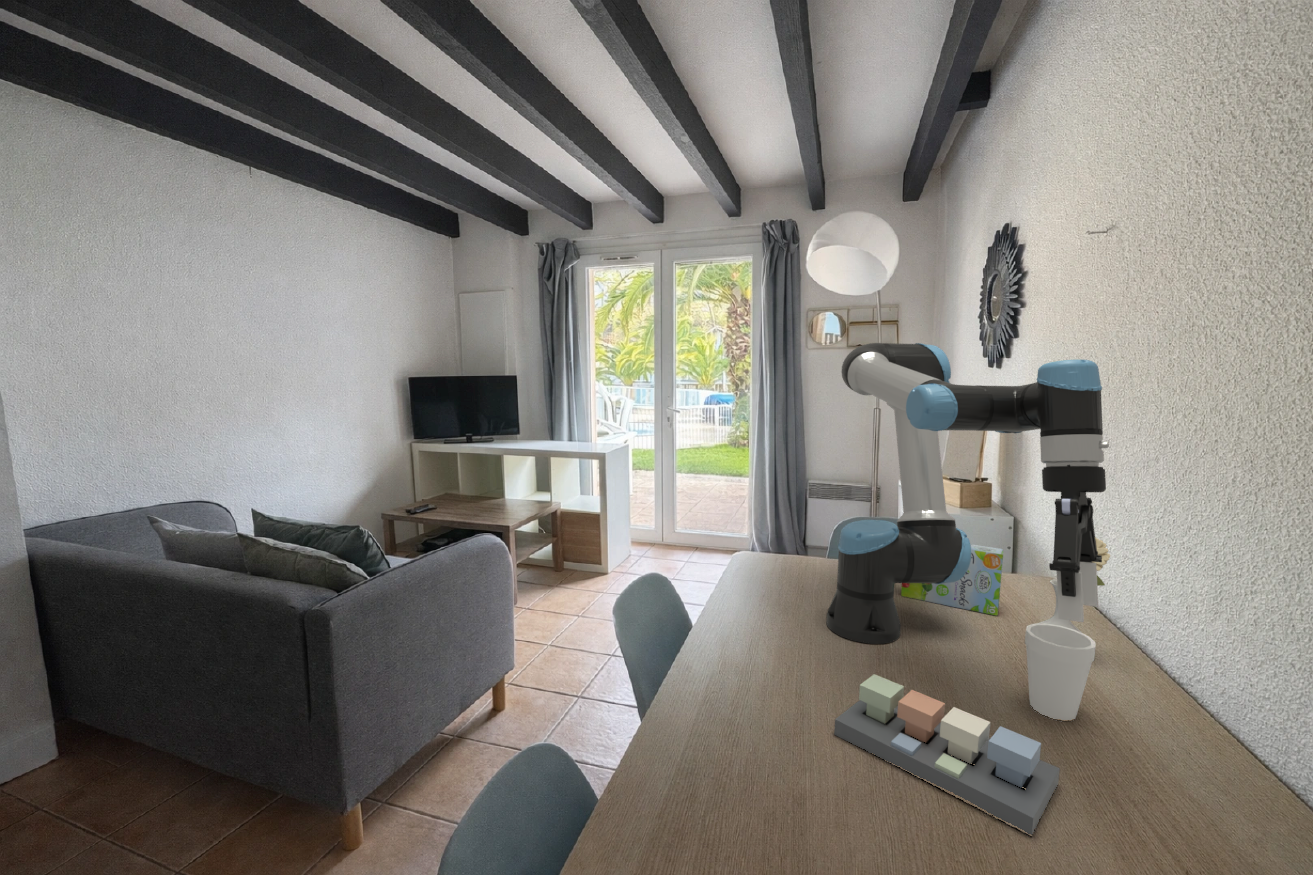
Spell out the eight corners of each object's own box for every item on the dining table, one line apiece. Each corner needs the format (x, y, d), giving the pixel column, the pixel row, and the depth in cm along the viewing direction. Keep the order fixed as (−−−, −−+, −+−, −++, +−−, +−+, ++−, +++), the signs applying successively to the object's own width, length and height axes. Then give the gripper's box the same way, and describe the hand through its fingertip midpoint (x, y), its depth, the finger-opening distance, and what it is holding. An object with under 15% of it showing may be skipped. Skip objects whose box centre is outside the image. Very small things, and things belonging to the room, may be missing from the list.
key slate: (985, 775, 75) (988, 740, 75) (997, 759, 78) (1000, 726, 78) (1027, 795, 72) (1031, 759, 71) (1037, 777, 75) (1041, 742, 74)
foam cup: (1067, 733, 88) (1075, 654, 87) (1007, 702, 96) (1014, 629, 95) (1099, 717, 92) (1107, 641, 91) (1039, 689, 101) (1046, 619, 99)
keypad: (834, 734, 87) (835, 715, 86) (873, 702, 96) (874, 684, 95) (1031, 837, 68) (1033, 813, 68) (1058, 785, 77) (1060, 763, 76)
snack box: (998, 609, 136) (1004, 548, 134) (997, 617, 131) (1003, 554, 130) (903, 589, 147) (907, 533, 146) (899, 596, 142) (903, 538, 141)
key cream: (938, 752, 79) (940, 720, 79) (951, 738, 83) (953, 706, 82) (975, 770, 76) (978, 736, 75) (987, 754, 79) (990, 722, 79)
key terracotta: (896, 732, 84) (898, 701, 83) (909, 719, 87) (912, 689, 86) (929, 748, 80) (932, 716, 80) (942, 734, 84) (945, 703, 83)
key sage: (857, 714, 88) (859, 684, 88) (872, 702, 91) (874, 674, 91) (888, 728, 85) (890, 698, 84) (902, 716, 88) (904, 686, 87)
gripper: (1091, 462, 72) (1100, 633, 70) (1115, 467, 90) (1122, 603, 88) (1022, 463, 77) (1029, 622, 76) (1058, 467, 95) (1064, 596, 93)
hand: (1079, 612), depth 82 cm, fingers open, 13 cm apart
